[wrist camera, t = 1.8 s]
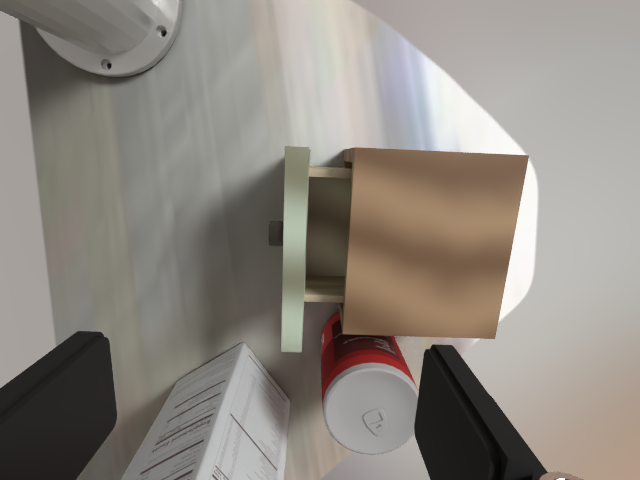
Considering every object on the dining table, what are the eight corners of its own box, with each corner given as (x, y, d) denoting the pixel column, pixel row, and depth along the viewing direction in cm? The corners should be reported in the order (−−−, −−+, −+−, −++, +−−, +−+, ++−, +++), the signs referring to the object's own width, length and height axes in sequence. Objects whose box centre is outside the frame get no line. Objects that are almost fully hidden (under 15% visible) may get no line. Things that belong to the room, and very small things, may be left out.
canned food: (349, 383, 38) (363, 472, 27) (304, 332, 36) (301, 405, 26) (406, 344, 37) (443, 421, 26) (362, 290, 35) (383, 348, 25)
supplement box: (175, 379, 37) (67, 553, 21) (244, 338, 36) (187, 488, 20) (226, 440, 39) (165, 641, 23) (293, 402, 38) (278, 586, 22)
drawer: (277, 148, 31) (257, 145, 20) (424, 155, 32) (485, 155, 20) (275, 287, 35) (257, 351, 23) (408, 292, 35) (454, 356, 24)
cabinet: (343, 149, 32) (355, 147, 23) (470, 155, 32) (528, 155, 23) (335, 289, 35) (342, 334, 26) (450, 293, 36) (494, 338, 27)
